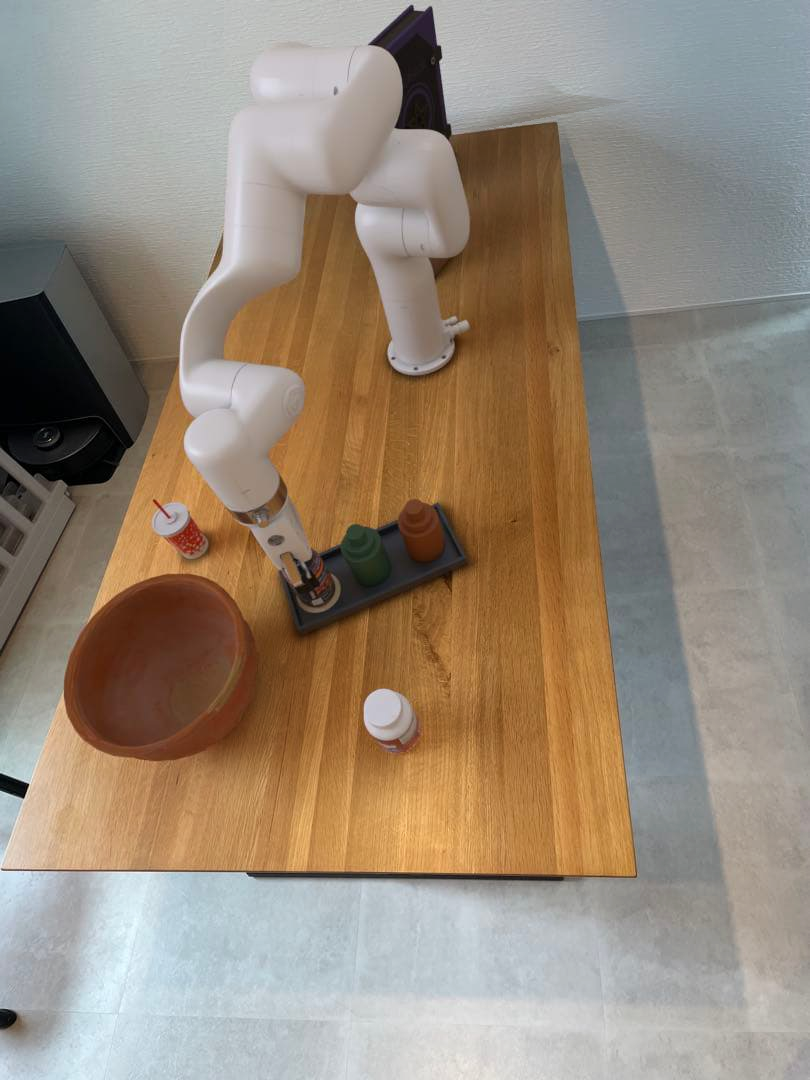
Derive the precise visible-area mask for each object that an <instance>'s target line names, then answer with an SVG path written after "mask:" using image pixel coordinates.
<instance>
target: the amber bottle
mask: <svg viewBox="0 0 810 1080" xmlns="http://www.w3.org/2000/svg"><path fill="white" fill-rule="evenodd" d="M431 505H432V504H429V503H426V502H422V500H420V499H417V498H412V499H409V500H408V501H406V503H405V505H404V508H403V509H402V510H401V511H400V513H399V514H398V518H397V520H398V527H399V529H400V532H401V535H402V538H403V540H404V543H405V546H406V549H407V551H408V554H409V555H410V557H411V558H412V559H414V560H415V561H418V562H423V563H426V562H431V561H434V560H436V559H437V558H439V557H440V556H441V554H442V553H443V551H444V549H445V539H444V536H443V532H442V528H441V524H440V520H439V517H438V513H437V511H436V510H435V508H434V507H432V506H431Z"/></svg>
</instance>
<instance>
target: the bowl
mask: <svg viewBox="0 0 810 1080" xmlns="http://www.w3.org/2000/svg"><path fill="white" fill-rule="evenodd" d="M255 642H256V641H255V639H254V636H253V632H252V630H251V627H250V625H249V623H248V622H247V620H245V618H244V616H243V614H242V611H241V610H240V608H239V606H238V604H237V602H236V601H235V599H234V598H233V597H232V596H231V595H230V593H228V591H226V590H225V588H224V587H222V586H221V585H220V584H218V583H217V582H216V581H214V580H211V579H209V578H207V577H205V576H203V575H197V574H192V573H164V574H160V575H156V576H152V577H148V578H147V579H143V580H141V581H139V582H137V583H134V584H132V585H130V586H128V587H127V588H125V589H124V590H122V591H120V592H118V593H117V594H115V595H114V596H113V597H112V598H111V599H109V600H108V601H107V602H106V603H105V604H104V605H103V606H101V607H100V608H99V609H98V611H96V612H95V614H94V615H93V616H92V617H91V618H90V620H88V622H87V623H86V625H85V626H84V627H83V629H81V631H80V633H79V635H78V637H77V639H76V641H75V644H74V645H73V647H72V649H71V652H70V653H69V657H68V661H67V664H66V668H65V672H64V679H63V701H64V706H65V711H66V716H67V718H68V720H69V722H70V724H71V726H72V727H73V729H74V731H75V733H76V734H77V735H78V736H79V737H80V738H81V740H83V741H84V742H85V743H86V744H88V745H90V746H91V747H92V748H94V749H95V750H97V751H99V752H101V753H104V754H107V755H109V756H111V757H117V758H118V757H119V758H131V759H137V760H139V761H148V762H166V761H167V762H168V761H177V760H181V759H183V758H187V757H191V756H194V755H197V754H200V753H201V752H205V751H207V749H208V748H210V747H212V746H214V745H216V744H217V743H218V742H220V740H222V739H223V738H224V737H225V736H226V735H228V734H229V733H230V732H231V731H232V730H233V729H234V728H235V727H236V726H237V725H238V724H240V723H241V721H242V716H243V714H245V712H246V711H247V708H248V707H249V704H250V702H251V701H252V698H253V696H254V694H255V691H256V688H257V686H258V683H259V682H258V681H259V680H258V678H257V677H258V666H259V662H258V661H259V659H258V652H257V647H256V643H255Z"/></svg>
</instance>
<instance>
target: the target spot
mask: <svg viewBox="0 0 810 1080" xmlns="http://www.w3.org/2000/svg"><path fill="white" fill-rule="evenodd" d="M330 574H331V573H330ZM331 576H332V578H333V580H334V582H335V593H334V595H333V597H332V599H331V600H330V601H329V602H328V603H326V604H325V605H323V606H320V607H309V606H307V605H305V604H303V603H302V602H301V600H300V599H299V598H298V596H297V595H296V597H297V601H298V604H299V605H300V607H301V608H302V609H304V610H305V611H307V612H311V613H320V612H323V611H326V610H328V609H329V608H331V607H332V606H333V605H334V604H335V603H336V602H337V600H338V598H339V596H340V591H341V587H340V583H339V581H338V579H337V578H336V577H335V576H334V575H332V574H331Z"/></svg>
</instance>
